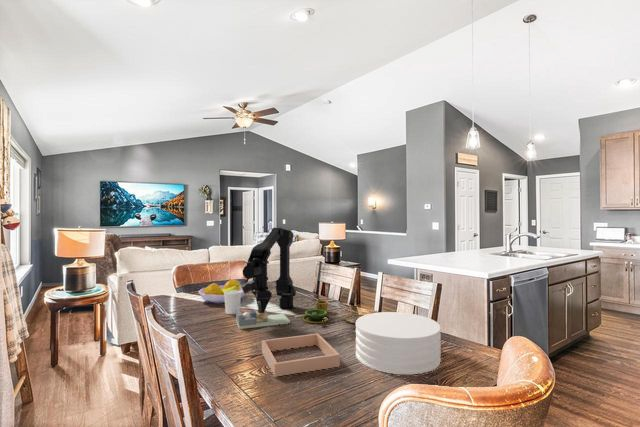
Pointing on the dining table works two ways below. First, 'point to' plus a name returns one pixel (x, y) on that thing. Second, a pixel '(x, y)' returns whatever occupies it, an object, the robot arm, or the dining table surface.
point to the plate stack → (398, 342)
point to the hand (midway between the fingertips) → (260, 309)
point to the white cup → (232, 301)
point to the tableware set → (320, 314)
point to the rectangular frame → (299, 365)
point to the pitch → (252, 322)
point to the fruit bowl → (220, 291)
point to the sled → (259, 314)
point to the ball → (246, 315)
